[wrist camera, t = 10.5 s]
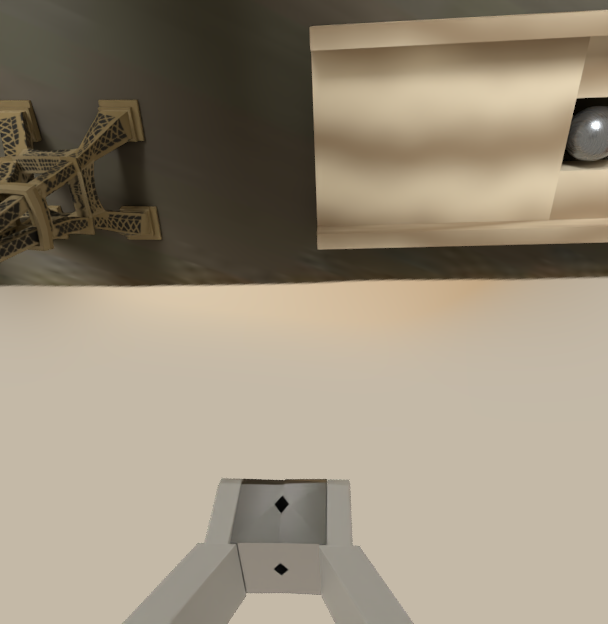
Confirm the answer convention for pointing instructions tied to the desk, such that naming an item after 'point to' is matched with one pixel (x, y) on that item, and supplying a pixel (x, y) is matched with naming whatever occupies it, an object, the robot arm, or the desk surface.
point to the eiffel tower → (63, 180)
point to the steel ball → (589, 134)
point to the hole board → (457, 131)
